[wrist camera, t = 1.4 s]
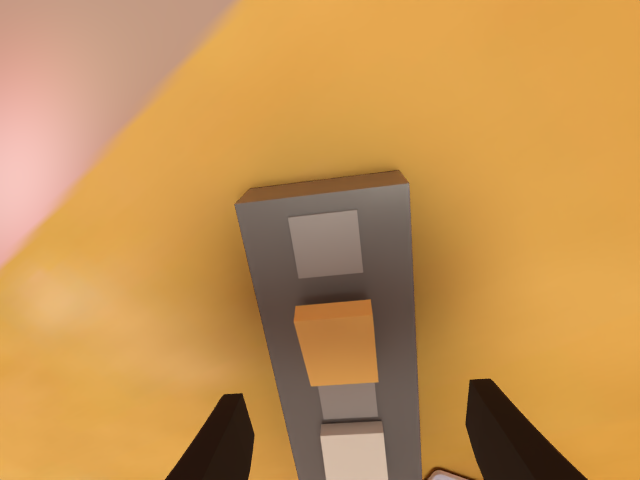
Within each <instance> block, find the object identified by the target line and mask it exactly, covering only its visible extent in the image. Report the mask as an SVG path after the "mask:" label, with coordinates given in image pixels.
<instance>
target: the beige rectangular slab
mask: <svg viewBox="0 0 640 480" xmlns="http://www.w3.org/2000/svg"><path fill="white" fill-rule="evenodd" d="M320 438H321V445H322V453H323V460H324V468H325V475H326V480H388V473H387V463H386V453H385V443H384V434H383V426H382V421H372V422H353V423H334V424H322V425H321V434H320Z"/></svg>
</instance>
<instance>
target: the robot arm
mask: <svg viewBox="0 0 640 480" xmlns="http://www.w3.org/2000/svg"><path fill="white" fill-rule="evenodd" d="M465 425H466V428H467V431H468V435H469V438H470V442H471V445H472V448H473V451H474V455H475V458H476V461H477V463H478V466H479V468H480V471H481V473H482V476H483V478H484V480H588V479H587V478H586V477H585V476H583V475H582V474H581V473H580V472H579V471H578V470H577V469H576V468H575V467H574V466H573V465H572V464H571V463H570V462H569V461H568V460H567V459H566V458H565V457H564V456H563V455H562V454H561V453H560V452H559V451H558V450H557V449H556V448H555V447H554V446H553V445H552V444H551V443H550V442H549V441H548V440H547V439H546V438H545V437H544V436H543V435H542V434H541V433H540V432H539V431H538V430H537V429H536V428H535V427H534V426H533V425H532V424H531V423H530V422H529V421H528V419H527V418H526V417H525V416H524V415H523V414H522V413H521V412H520V411H519V410H518V409H517V407H516V406H515V405H514V404H513V403H512V402H511V401H510V400H509V399H508V397H507V396H506V395H505V394H504V393H503V392H502V391H501V389H500V388H499V387H498V386H497V385H496V384H495V383H494V381H492V380H491V379H475V380H470V383H469V393H468V403H467V414H466V424H465ZM253 444H254V432H253V428H252V425H251V421H250V418H249V415H248V411H247V408H246V404H245V401H244V398H243V394H242V393H240V394H224V395H223V396H222V397H221V399H220V400H219V402H218V403H217V405H216V407H215V408H214V410H213V411H212V413H211V414H210V416H209V417H208V419H207V421H206V422H205V424H204V425H203V427H202V428H201V430H200V431H199V433H198V434H197V436H196V437H195V439H194V440H193V441H192V443H191V444H190V446H189V447H188V449H187V450H186V451H185V453H184V454H183V456H182V457H181V459H180V460H179V461H178V463H177V464H176V466H175V467H174V468H173V470H172V471H171V472H170V473H169V475H168V476H167V477H166V479H165V480H248V477H249V473H250V467H251V460H252V452H253ZM428 480H468V479H465V478H462V477H459V476H456V475H453V474H451V473H448V472H445V471H442V470H437V471H434V472H433V473H432V475H431V476H430V477H429V478H428Z"/></svg>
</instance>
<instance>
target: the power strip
mask: <svg viewBox="0 0 640 480" xmlns="http://www.w3.org/2000/svg"><path fill="white" fill-rule="evenodd" d="M234 205H235V209H236V213H237V217H238V222H239V226H240V230H241V234H242V239H243V243H244V247H245V252H246V256H247V260H248V264H249V269H250V273H251V277H252V282H253V286H254V290H255V294H256V299H257V303H258V307H259V312H260V316H261V320H262V324H263V329H264V333H265V337H266V342H267V346H268V350H269V354H270V359H271V363H272V367H273V371H274V376H275V380H276V384H277V389H278V393H279V397H280V401H281V406H282V410H283V414H284V419H285V423H286V427H287V431H288V436H289V440H290V444H291V449H292V453H293V457H294V461H295V466H296V470H297V474H298V479H299V480H326V475H325V468H324V460H323V453H322V445H321V438H320V434H321V425H322V424H334V423H353V422H372V421H382V426H383V434H384V443H385V453H386V463H387V473H388V480H422V465H421V442H420V420H419V397H418V374H417V351H416V328H415V305H414V282H413V259H412V236H411V213H410V190H409V182H408V181H407V180H406V179H405V177H404V176H403V175H402V174H401V172H400V171H399V170H397V171H389V172H380V173H372V174H364V175H356V176H348V177H340V178H332V179H324V180H316V181H308V182H299V183H291V184H283V185H275V186H267V187H259V188H251V189H249V190H248V191H247V192H246V193H245V194H244V195H243V196H242V197H241V198H240V199H239V200H238V201H237V202H236V203H235V204H234ZM369 299H371V306H372V313H373V324H374V335H375V347H376V358H377V370H378V381H379V382H374V383H359V384H343V385H327V386H312V387H311V385H310V381H309V377H308V373H307V370H306V366H305V362H304V358H303V355H302V351H301V347H300V343H299V340H298V336H297V332H296V328H295V324H294V315H295V306H301V305H312V304H324V303H335V302H347V301H358V300H369Z"/></svg>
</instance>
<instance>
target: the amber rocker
mask: <svg viewBox="0 0 640 480" xmlns="http://www.w3.org/2000/svg"><path fill="white" fill-rule="evenodd" d="M294 324H295V328H296V332H297V336H298V340H299V343H300V347H301V351H302V355H303V358H304V362H305V366H306V370H307V373H308V377H309V381H310V385H311V387H312V386H327V385H343V384H359V383H374V382H379V381H378V370H377V358H376V347H375V335H374V324H373V313H372V306H371V299H369V300H358V301H347V302H335V303H324V304H312V305H301V306H295V315H294Z"/></svg>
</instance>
